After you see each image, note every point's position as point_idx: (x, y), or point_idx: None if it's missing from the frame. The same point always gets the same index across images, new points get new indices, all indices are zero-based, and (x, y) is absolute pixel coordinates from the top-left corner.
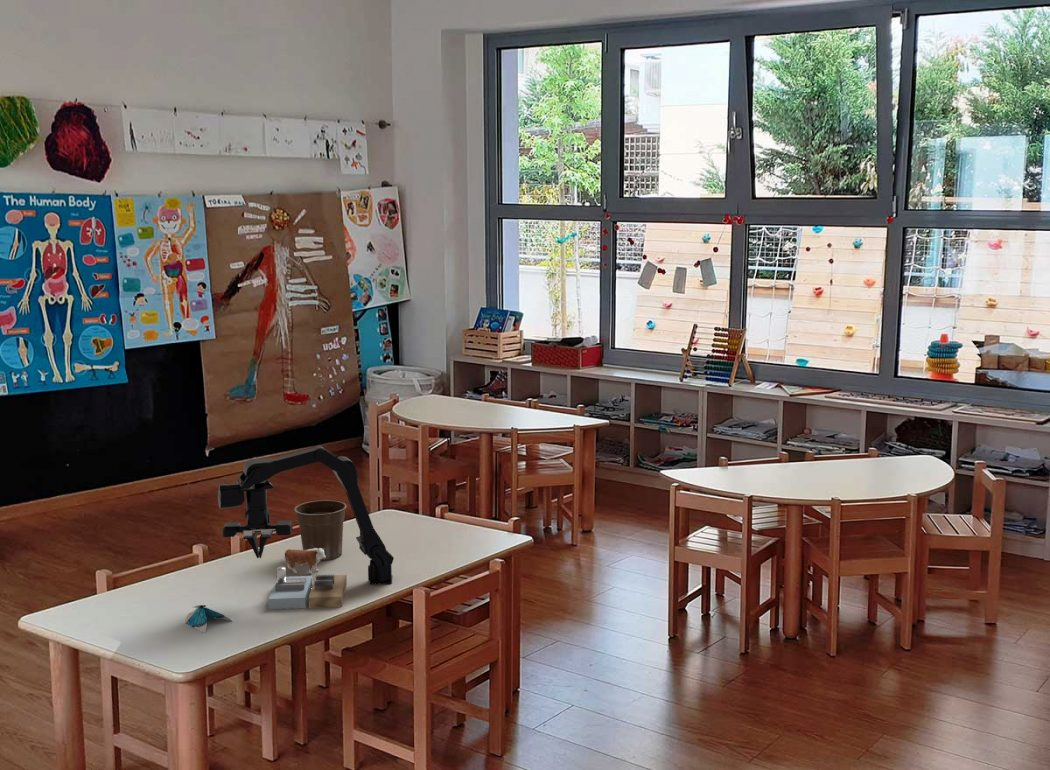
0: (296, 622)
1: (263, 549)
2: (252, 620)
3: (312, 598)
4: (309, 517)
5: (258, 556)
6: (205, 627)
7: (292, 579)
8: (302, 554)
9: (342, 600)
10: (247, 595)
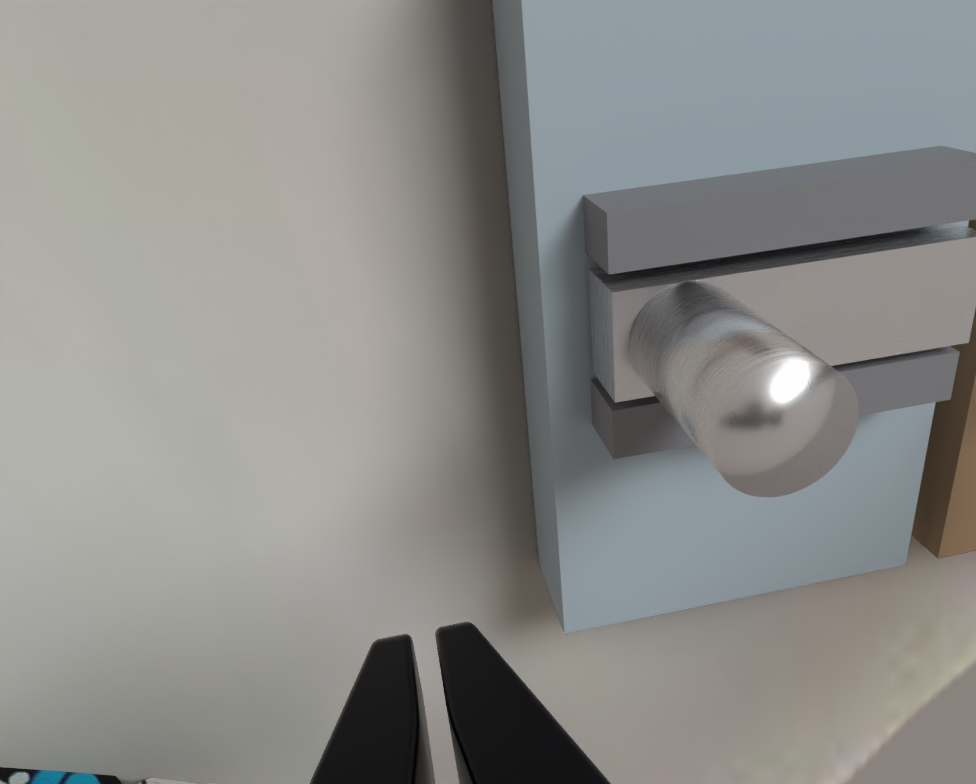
0: (785, 737)
1: (577, 752)
2: None
3: (964, 545)
4: None
5: (427, 733)
6: None
7: (816, 226)
8: None
9: None
10: (168, 218)
